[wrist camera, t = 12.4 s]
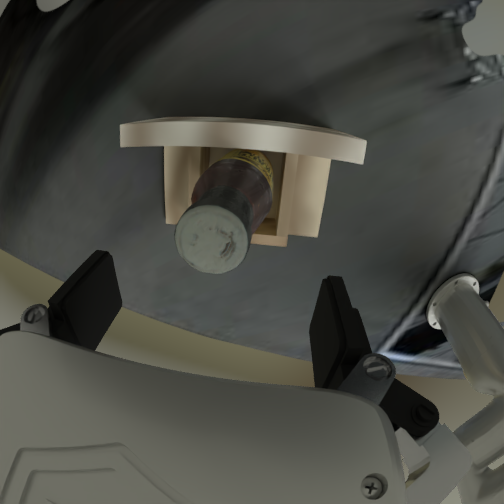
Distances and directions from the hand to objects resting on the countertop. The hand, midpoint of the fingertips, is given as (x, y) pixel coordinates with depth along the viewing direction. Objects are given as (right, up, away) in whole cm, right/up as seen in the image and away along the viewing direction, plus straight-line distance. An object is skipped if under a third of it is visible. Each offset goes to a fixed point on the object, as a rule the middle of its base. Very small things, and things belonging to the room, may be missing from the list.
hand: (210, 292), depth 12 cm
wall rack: (+1, +11, +21) cm, 24 cm away
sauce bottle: (+1, +11, +20) cm, 23 cm away
